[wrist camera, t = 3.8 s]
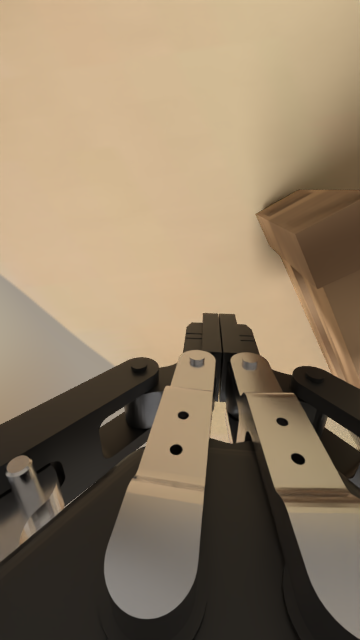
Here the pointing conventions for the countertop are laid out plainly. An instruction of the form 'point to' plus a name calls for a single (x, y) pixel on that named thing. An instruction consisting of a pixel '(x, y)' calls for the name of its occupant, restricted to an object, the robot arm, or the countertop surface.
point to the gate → (323, 267)
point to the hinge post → (355, 439)
